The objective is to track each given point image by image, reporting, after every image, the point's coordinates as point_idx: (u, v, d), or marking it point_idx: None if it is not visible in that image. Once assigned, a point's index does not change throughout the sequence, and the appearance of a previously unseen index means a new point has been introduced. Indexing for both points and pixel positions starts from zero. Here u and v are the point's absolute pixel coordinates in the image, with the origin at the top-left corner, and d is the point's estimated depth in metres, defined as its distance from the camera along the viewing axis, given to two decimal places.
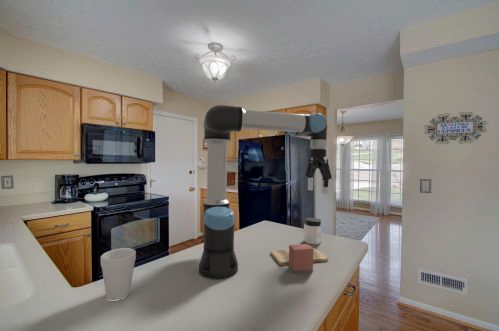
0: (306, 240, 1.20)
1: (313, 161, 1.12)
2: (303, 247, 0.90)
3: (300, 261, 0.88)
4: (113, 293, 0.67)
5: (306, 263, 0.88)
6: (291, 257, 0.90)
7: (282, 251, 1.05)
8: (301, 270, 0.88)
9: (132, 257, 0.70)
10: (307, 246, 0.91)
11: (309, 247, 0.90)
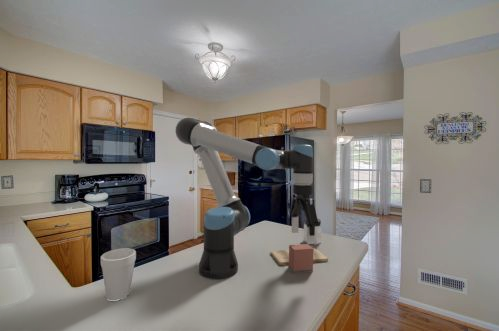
0: (306, 240, 1.20)
1: (297, 199, 0.90)
2: (303, 247, 0.90)
3: (300, 261, 0.88)
4: (113, 293, 0.67)
5: (306, 263, 0.88)
6: (291, 257, 0.90)
7: (282, 251, 1.05)
8: (301, 270, 0.88)
9: (132, 257, 0.70)
10: (307, 246, 0.91)
11: (309, 247, 0.90)
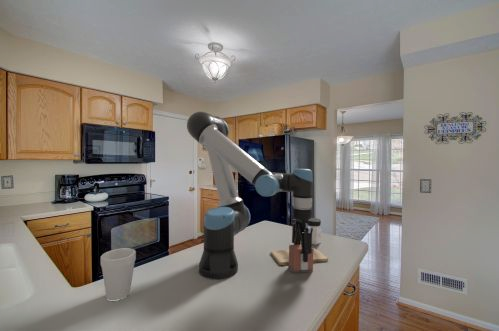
0: None
1: (296, 222, 0.91)
2: None
3: (300, 261, 0.88)
4: (113, 293, 0.67)
5: None
6: (291, 257, 0.90)
7: (282, 251, 1.05)
8: (301, 270, 0.88)
9: (132, 257, 0.70)
10: None
11: None
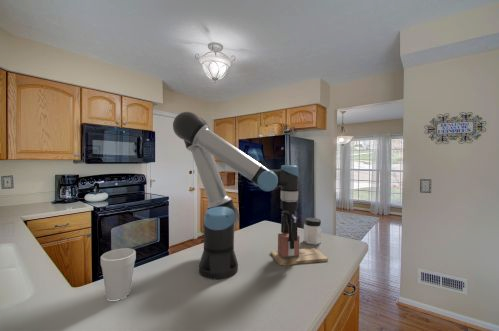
0: (306, 240, 1.20)
1: (284, 213, 1.01)
2: None
3: (287, 247, 0.98)
4: (113, 293, 0.67)
5: None
6: (279, 244, 0.99)
7: None
8: None
9: (132, 257, 0.70)
10: None
11: None
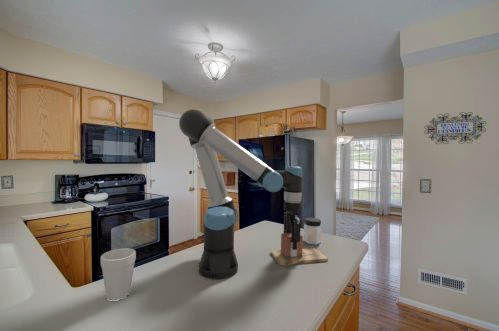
0: (306, 240, 1.20)
1: (287, 214, 1.01)
2: None
3: None
4: (113, 293, 0.67)
5: None
6: (283, 244, 1.00)
7: None
8: None
9: (132, 257, 0.70)
10: None
11: None
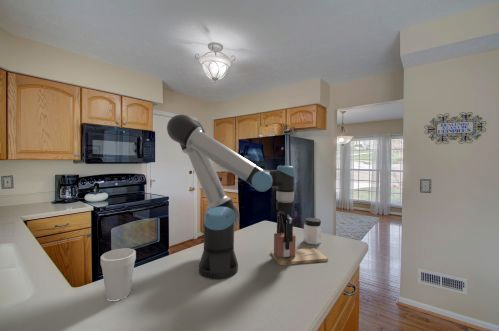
0: (306, 240, 1.20)
1: (279, 214, 1.00)
2: None
3: None
4: (113, 293, 0.67)
5: None
6: (275, 244, 0.99)
7: None
8: None
9: (132, 257, 0.70)
10: None
11: None
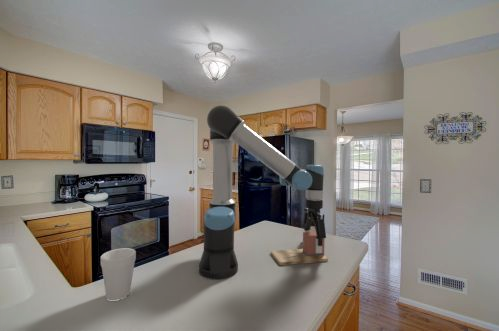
0: None
1: (308, 212, 1.03)
2: (315, 233, 1.03)
3: (313, 245, 1.01)
4: (113, 293, 0.67)
5: None
6: (305, 242, 1.02)
7: (282, 251, 1.05)
8: (314, 254, 1.01)
9: (132, 257, 0.70)
10: None
11: None
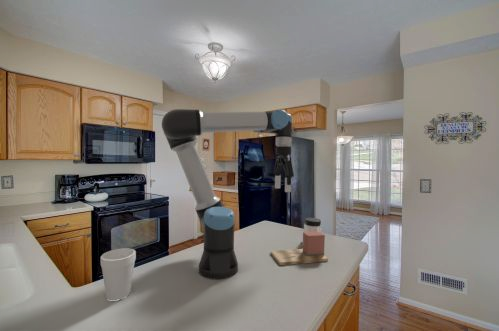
0: None
1: (278, 159, 1.11)
2: (315, 233, 1.03)
3: (313, 245, 1.01)
4: (113, 293, 0.67)
5: (318, 247, 1.01)
6: (305, 242, 1.02)
7: (282, 251, 1.05)
8: (314, 254, 1.01)
9: (132, 257, 0.70)
10: (319, 233, 1.04)
11: (321, 234, 1.03)
